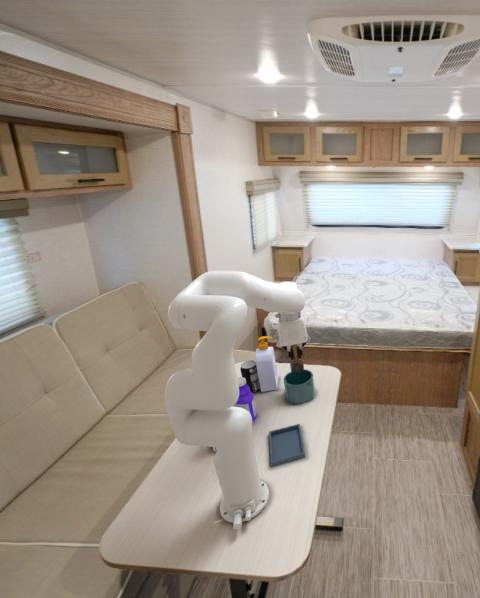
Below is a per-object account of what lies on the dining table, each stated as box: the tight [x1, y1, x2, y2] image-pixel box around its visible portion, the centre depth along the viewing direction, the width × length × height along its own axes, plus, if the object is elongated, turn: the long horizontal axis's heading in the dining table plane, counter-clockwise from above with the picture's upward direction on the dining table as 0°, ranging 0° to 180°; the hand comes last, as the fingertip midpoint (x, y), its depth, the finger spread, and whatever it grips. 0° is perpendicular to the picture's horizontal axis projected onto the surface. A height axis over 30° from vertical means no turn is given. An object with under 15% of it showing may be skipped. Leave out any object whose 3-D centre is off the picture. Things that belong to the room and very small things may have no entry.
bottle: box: [233, 376, 258, 423], centre depth 122 cm, size 7×6×17 cm
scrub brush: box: [289, 344, 305, 373], centre depth 133 cm, size 5×5×11 cm
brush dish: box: [268, 423, 306, 467], centre depth 114 cm, size 14×10×2 cm
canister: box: [283, 368, 316, 406], centre depth 137 cm, size 11×11×9 cm
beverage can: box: [239, 359, 261, 393], centre depth 140 cm, size 7×7×12 cm
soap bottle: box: [254, 335, 279, 393], centre depth 141 cm, size 9×7×23 cm
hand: (295, 357), depth 133 cm, fingers closed on scrub brush, 2 cm apart
